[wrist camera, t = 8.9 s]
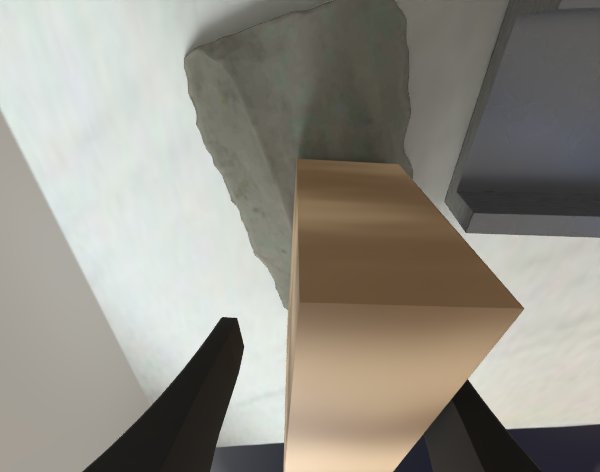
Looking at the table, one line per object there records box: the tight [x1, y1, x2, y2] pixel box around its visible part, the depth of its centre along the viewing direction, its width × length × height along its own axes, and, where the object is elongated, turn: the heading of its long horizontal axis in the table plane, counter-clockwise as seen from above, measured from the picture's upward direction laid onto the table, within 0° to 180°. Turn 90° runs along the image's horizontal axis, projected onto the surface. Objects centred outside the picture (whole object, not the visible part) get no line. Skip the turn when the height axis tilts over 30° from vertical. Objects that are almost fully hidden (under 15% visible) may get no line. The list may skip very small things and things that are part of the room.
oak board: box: [284, 159, 524, 472], centre depth 12 cm, size 12×4×8 cm, turn 177°
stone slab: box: [184, 0, 413, 310], centre depth 16 cm, size 22×3×10 cm
